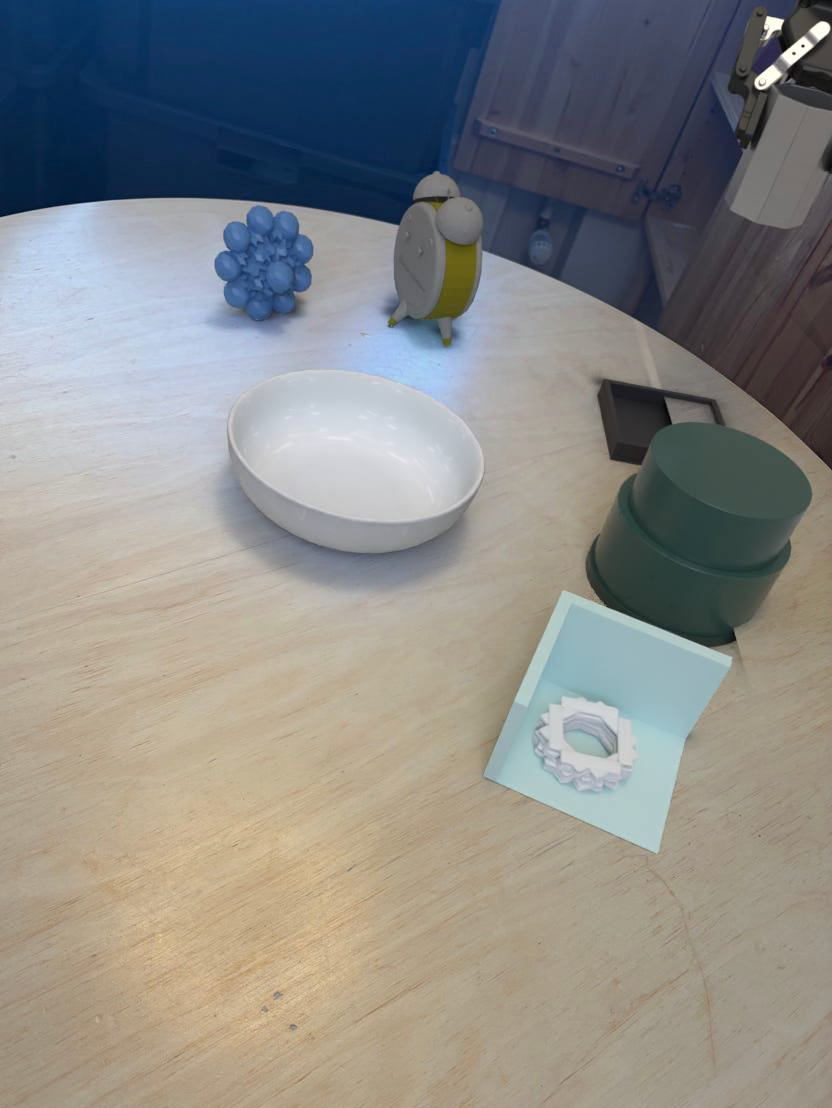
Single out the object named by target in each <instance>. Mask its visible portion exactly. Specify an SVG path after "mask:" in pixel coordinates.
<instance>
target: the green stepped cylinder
mask: <svg viewBox="0 0 832 1108" xmlns="http://www.w3.org/2000/svg"><path fill="white" fill-rule="evenodd" d="M810 483H811V482H810V481H809V478H808V477H807V475H806V474H805V473H804V471H803V470H802V468H800V466H799V465H797V463H796V462H795V461H793V460H792V459H791V458H790V457H789V456H788V455H787V454H785V453H784V452H782V451H781V450H779V449H778V448H776V447H775V446H773V445H771V444H770V443H768V442H767V441H764V440H762V439H761V438H758V437H756V436H755V435H753V434H752V435H751V434H750V433H747V432H745V431H741V430H739V429H736V428H732V427H729V426H726V425H725V426H722V425H717V424H716V423H710V422H702V421H683V422H677V423H672V425H669V426H666V427H665V428H663V429H661V430H660V431H659V432H657V433H656V435H655V436H654V437H653V439H652V442H651V444H650V446H649V449H648V451H647V453H646V455H645V458H644V460H643V462H642V464H641V465H640V466H639V469H638V472H635V473H633V474H632V475H630V476H629V477H628V478H627V479H625V480H624V481H623V483H622V484H621V485H620V487H619V488H618V492H617V494H616V496H615V499H614V501H613V504H612V506H611V508H610V510H609V513H608V514H607V518H606V519H605V522H604V524H603V526H602V529H601V531H600V533H599V534H598V535H597V536H596V537H595V538H594V540H593V541H592V543H591V545H590V547H589V549H588V553H587V554H586V559H585V571H586V574H587V575H586V576H587V578H588V581H589V583H590V585H591V587H592V589H593V590H594V593H595V594H596V595H597V596H598V598H599V599H600V600H601V602H603V603H604V604H605V605H606V607H607V608H610V609H612V610H615V611H617V612H620V613H622V614H625V615H627V616H630V617H632V618H635V619H637V620H640V621H642V622H645V623H647V624H650V625H652V626H655V627H657V628H660V629H662V630H665V631H667V632H670V633H672V634H675V635H677V636H680V637H682V638H685V639H687V640H690V641H692V642H695V643H697V644H700V645H702V646H705V647H707V648H712V647H713V648H715V647H721V646H725V645H729V644H732V643H735V642H736V641H738V639H737V636H736V633H735V629H736V628H738V627H741V626H743V625H745V624H747V623H748V622H750V620H751V619H753V618H754V616H756V614H757V613H758V611H759V609H760V607H761V606H762V605H763V603H764V601H765V600H766V599H767V596H768V594H769V593H770V592H771V590H772V588H773V587H774V585H775V583H776V582H777V580H778V578H779V577H780V575H781V574H782V573H783V571H784V569H785V567H786V566H787V564H788V562H789V560H790V558H791V554H792V542H791V541H792V540H791V539H790V538H791V537H792V534H793V533H794V532H795V530H796V529H797V526H798V525H799V523H800V521H801V520H802V518H803V517H804V515H805V513H806V512H807V510H808V508H809V507H810V505H811V502H812V501H813V500H812V499H813V489H812V486H811V484H810Z"/></svg>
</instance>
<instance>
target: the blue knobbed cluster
mask: <svg viewBox="0 0 832 1108" xmlns="http://www.w3.org/2000/svg"><path fill="white" fill-rule="evenodd" d="M222 231H223V232H222V240H223V241H224V245H225V247H226V249H228V250H223V251H220V252H219V253H218V254H217V256H216V257H215V258H214V262H213V267H214V270H215V273H216V276H217V277H218V278H219V279H220V280H222V281H223V282H226V283H225V284H224V286H223V298H224V299H225V302H226V303H227V305H229V307H231V308H235V309H241V308H245V310H246V313H247V315H248V316H249V317H250V318H251V317H252V318H251V319H253V320H255V319H258V320H257V321H264V320H266V318H267V319H268V318H269V317H270V315H271V314H272V312H273V311H274V312H275V313H277V314H281V315H286V314H289V313H291V312H292V311H293V310H294V309H295V307H296V299H297V298H296V295H295V293H303V292H307V291H308V290H309V289H310V287H311V285H312V278H313V274H312V272H311V269H310V268H309V267H308V266H307V265H306V264H308V263H310V261H312V259H313V257H314V249H315V248H314V244H313V242H312V240H311V238H309V237H308V236H307V235H305V234H301V233H300V223H299V220H298V217H297V216H296V215H295V214H294V213H292V212H291V211H286V210H281V211H278V212H276V214H275V215H274V213H273V212H272V211H271V210H270V209H269V208H268V207H267V206H264V205H259V204H257V205H254V206H252V207H251V208H250V209H249V211H248V212H247V214H246V219H245V223H244V222H241V221H236V220H234V221H231V222H228V223H227V225H226V226H225V227H224V229H223V230H222ZM272 310H273V311H272ZM263 319H264V320H263Z"/></svg>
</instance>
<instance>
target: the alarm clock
mask: <svg viewBox="0 0 832 1108" xmlns="http://www.w3.org/2000/svg"><path fill="white" fill-rule="evenodd" d="M412 195H413V196H412V201H413V202H414V203H413V204H412V205H410V206H409V207H408V209H407V210H406V211H405V212H404V214H403V216H402V218H401V220H400V223H399V225H398V228H397V232H396V236H395V240H394V241H395V242H394V246H393V248H394V249H393V280H394V287H395V291H396V295H397V298H398V301H399V303H400V304H399V306H398V307H397V308H396V309H395V311H394V312H393V314H392V315H391V316H390V318H389V319H388V321H387V324H388V325H389V326H390V325H393V326H395V325H397V324H398V323H399V322H401V321H402V320H404V319H405V318H407V317H408V316H409V317H410V318H412V319H416V320H421V321H423V320H424V321H425V320H426V321H427V320H430V321H431V320H436V321H437V324H438V328H439V331H440V336H441V339H442V343H443V346H444V347H450V346H451V344H452V334H453V333H452V332H453V331H452V330H453V320H454V319H458V318H460V317H462V316H463V315H464V314H465V313H467V311H468V310H469V308H470V307H471V305H472V304H473V302H474V300H475V298H476V296H477V292H478V290H479V286H480V281H481V276H482V269H483V239H482V235H481V234H482V232H483V228H484V227H483V226H484V220H483V213H482V210H481V209H480V207H479V205H477V203H475V202H474V200H472V199H470V198H467V197H463V196H461V192H460V188H459V187H458V185H457V183H456V181H454V179H452V178H451V177H450V176H448V175H446V174H443V173H441V172H440V171H439V170H435V171H433V173H432V174H429V175H426V176H425V177H423V178H422V179H421V180H419V183H417V185H416V187H415V189H414V192H413V194H412Z"/></svg>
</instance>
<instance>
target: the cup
mask: <svg viewBox="0 0 832 1108" xmlns="http://www.w3.org/2000/svg"><path fill="white" fill-rule="evenodd" d="M831 164H832V94H830V93H827V92H825V91H822V90H819V89H817V88H815V87H806V86H801V85H797V84H795V83H791V82H788V83H783V84H775V85H772V86H771V88H770V90H769V93H768V96H767V99H766V102H765V104H764V107H763V110H762V113H761V115H760V118H759V121H758V124H757V126H756V129H755V132H754V134H753V137H752V139H751V141H750V143H749V145H748V147H747V149H743V153H742V155H741V157H740V159H739V162H738V163H737V166H736V169H735V172H734V173H733V176H732V179H731V180H730V182H729V186H728V187H727V191H726V193H725V195H724V197H723V200H724V202H725V204H726V205H727V207H728V209H729V211H731V212H732V213H735V214H737V215H739V216H740V217H743V218H745V219H747V220H749V221H751V222H753V223H754V224H757V225H758V224H759V225H764V226H768V227H773V228H778V229H782V230H789V229H793V228H796V227H800V226H803V224H804V221H805V220H806V218H807V216H808V213H809V211H810V210H811V207H812V206H813V203H814V202H815V199H816V197H817V196H818V193H819V191H820V189H821V187H822V185H823V183H824V181H825V179H826V177H827V175H828V170H829V168H830V166H831Z"/></svg>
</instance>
